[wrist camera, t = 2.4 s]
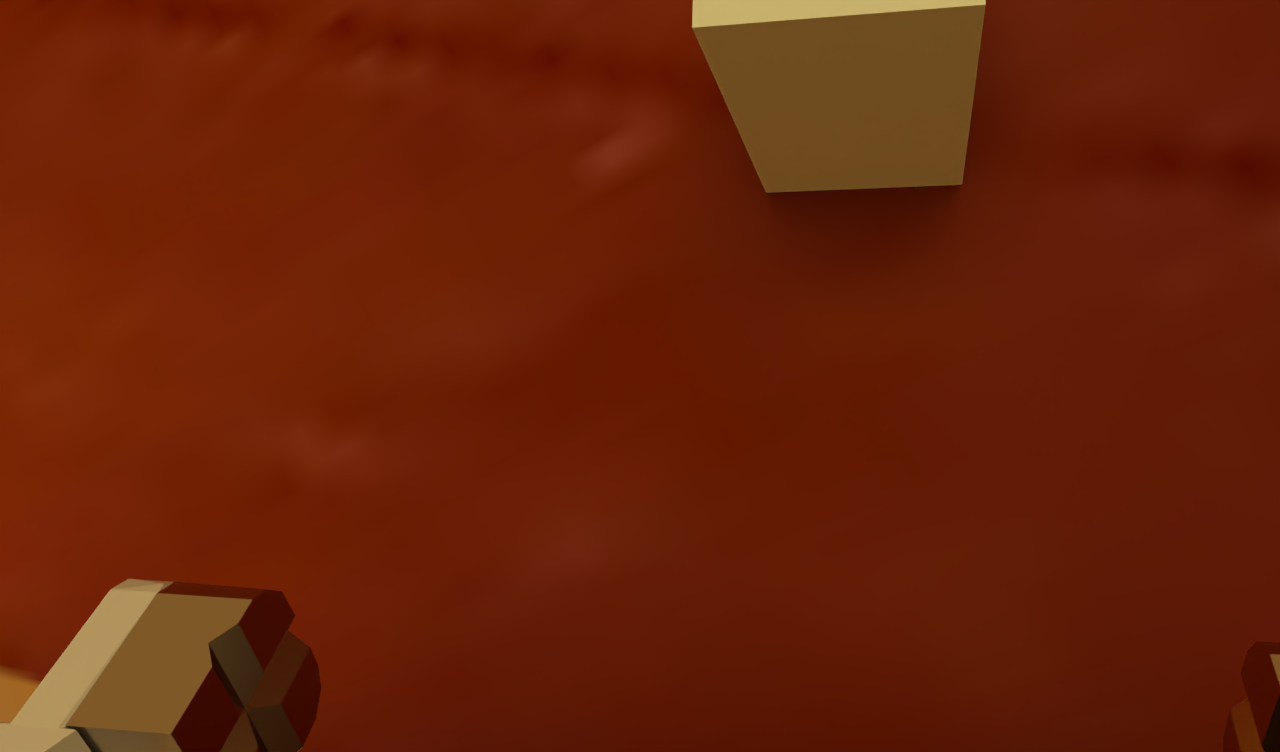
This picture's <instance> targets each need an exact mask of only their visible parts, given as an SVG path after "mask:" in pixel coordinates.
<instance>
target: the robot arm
mask: <svg viewBox="0 0 1280 752" xmlns="http://www.w3.org/2000/svg"><path fill="white" fill-rule="evenodd" d="M294 617H295V614H294V613H293V611H292V609H291V607H290V605H289V603H288V602H287V600H286V598H285V596H284V594H283V592H282V591H274V590H267V589H255V588H243V587H231V586H219V585H207V584H195V583H183V582H167V581H153V580H138V579H128V580H126V581H124V582H122V583H121V584H119V585H117V586H116V587H114V588H112V589H111V590H110V591H109V592H108V594H107V595H106V596H105V598H104V599H103V600H102V602H101V603H100V604H99V606H98V607H97V608H96V610H95V611H94V612H93V614H92V615H91V616H90V618H89V619H88V620H87V622H86V623H85V624H84V626H83V627H82V628H81V630H80V631H79V632H78V634H77V635H76V636H75V638H74V639H73V640H72V642H71V643H70V644H69V646H68V647H67V648H66V650H65V651H64V652H63V654H62V655H61V656H60V658H59V659H58V660H57V662H56V663H55V664H54V666H53V667H52V668H51V670H50V671H49V673H48V674H47V675H46V677H45V678H44V679H43V681H42V682H41V683H40V685H39V686H38V687H37V689H36V690H35V691H34V693H33V694H32V695H31V697H30V698H29V699H28V701H27V702H26V703H25V705H24V706H23V707H22V709H21V710H20V712H19V713H18V714H17V715H16V717H15V718H14V719H13V721H12V722H11V723H5V722H0V752H297V751H298V750H300V749H301V748H302V747H303V745H304V743H305V741H306V739H307V737H308V735H309V732H310V730H311V728H312V726H313V724H314V722H315V719H316V714H317V708H318V703H319V697H320V691H321V683H320V676H319V668H318V664H317V662H316V659H315V657H314V655H313V653H312V650H311V648H310V647H309V646H308V645H306V644H305V643H304V642H302V641H301V640H300V639H298V638H297V637H296V636H295V635H293V634H292V633H291V632H289V631H288V629H289V627H290V625H291V623H292V621H293V619H294ZM1241 675H1242V679H1243V683H1244V686H1245V690H1246V693H1247V697H1248V699H1246V700H1245V701H1243V702H1242V703H1240V704H1238V705H1237V706H1235V707H1234V708H1232V709H1230V712H1229V716H1228V720H1227V724H1226V728H1225V732H1224V737H1223V752H1280V643H1275V642H1256V643H1255V644H1254V645H1253V646H1252V647H1251V648H1250V649H1249V650H1248V652H1247V655H1246V658H1245V661H1244V664H1243V667H1242V671H1241Z"/></svg>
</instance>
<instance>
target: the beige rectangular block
mask: <svg viewBox="0 0 1280 752" xmlns="http://www.w3.org/2000/svg"><path fill="white" fill-rule="evenodd" d="M985 5H986V0H693V18H692V28H693V30H694V33H695V35H696V37H697V39H698V42H699V44H700V46H701V48H702V51H703V53H704V55H705V57H706V60H707V62H708V64H709V66H710V69H711V71H712V73H713V75H714V78H715V80H716V82H717V84H718V86H719V89H720V91H721V93H722V95H723V98H724V100H725V102H726V104H727V107H728V109H729V111H730V113H731V116H732V118H733V120H734V122H735V125H736V127H737V129H738V131H739V134H740V136H741V138H742V140H743V142H744V145H745V147H746V149H747V151H748V154H749V156H750V158H751V160H752V163H753V165H754V167H755V169H756V172H757V174H758V176H759V178H760V181H761V183H762V185H763V187H764V190H765V192H766V193H772V192H796V191H821V190H845V189H869V188H894V187H918V186H943V185H962V181H963V174H964V166H965V158H966V151H967V143H968V135H969V128H970V120H971V112H972V105H973V97H974V89H975V82H976V74H977V67H978V59H979V51H980V44H981V36H982V28H983V21H984V13H985Z"/></svg>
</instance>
